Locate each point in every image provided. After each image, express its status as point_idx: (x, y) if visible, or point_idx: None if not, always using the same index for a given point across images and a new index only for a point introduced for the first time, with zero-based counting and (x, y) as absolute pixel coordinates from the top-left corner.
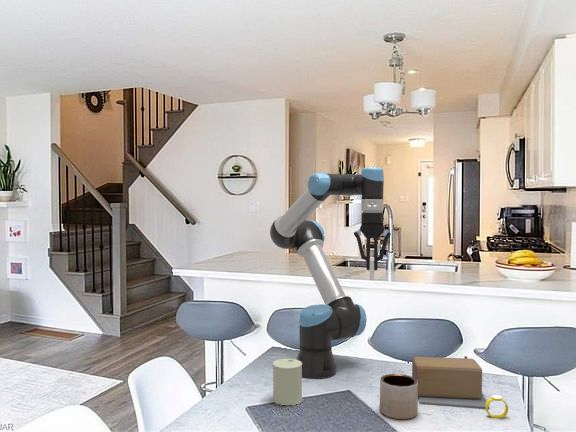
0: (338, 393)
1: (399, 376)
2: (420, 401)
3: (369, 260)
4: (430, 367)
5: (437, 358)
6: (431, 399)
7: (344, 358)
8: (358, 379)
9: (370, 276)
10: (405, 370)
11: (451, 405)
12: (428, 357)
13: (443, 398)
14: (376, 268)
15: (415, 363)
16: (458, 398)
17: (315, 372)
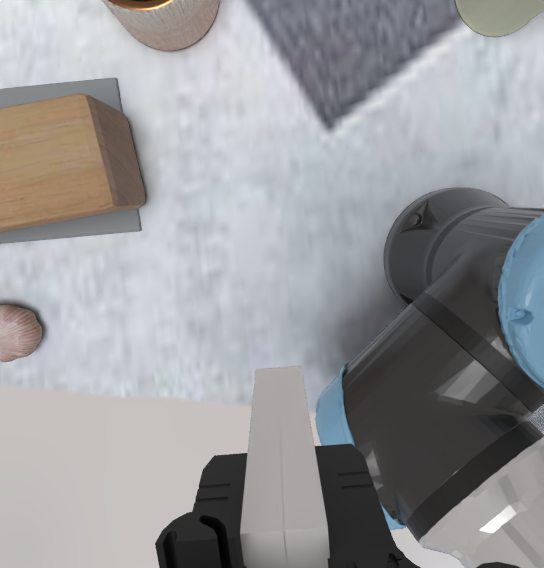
0: (354, 89)
1: (143, 1)
2: (112, 81)
3: (337, 548)
4: (39, 101)
5: (23, 199)
6: None
7: None
8: (310, 225)
9: (294, 385)
10: (183, 341)
11: (29, 86)
12: (55, 203)
13: None
14: (216, 474)
15: (96, 130)
16: None
17: (448, 189)
